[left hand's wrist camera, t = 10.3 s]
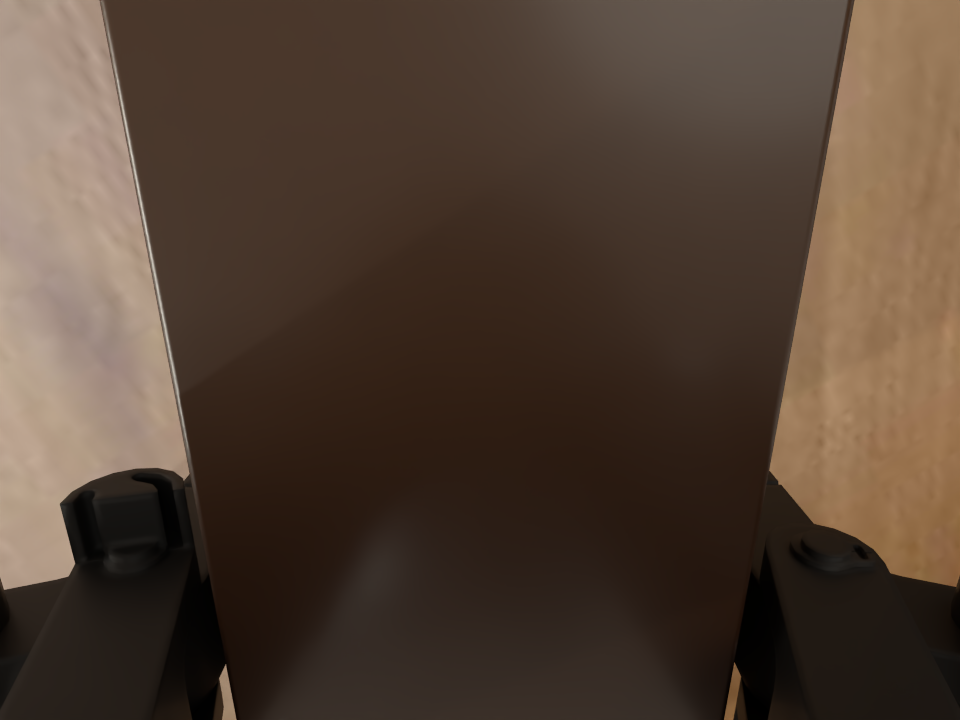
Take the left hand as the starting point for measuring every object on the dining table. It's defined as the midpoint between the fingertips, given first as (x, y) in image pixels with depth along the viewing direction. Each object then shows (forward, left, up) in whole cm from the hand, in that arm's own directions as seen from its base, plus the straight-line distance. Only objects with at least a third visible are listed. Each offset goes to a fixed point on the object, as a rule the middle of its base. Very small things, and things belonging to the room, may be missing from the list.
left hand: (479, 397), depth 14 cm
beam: (+11, 0, 0) cm, 12 cm away
